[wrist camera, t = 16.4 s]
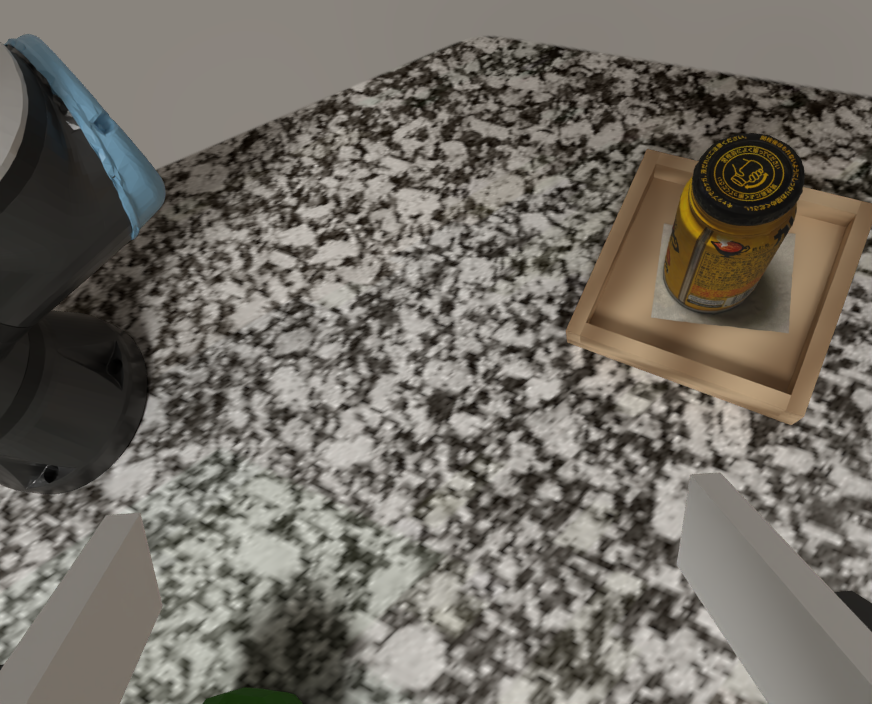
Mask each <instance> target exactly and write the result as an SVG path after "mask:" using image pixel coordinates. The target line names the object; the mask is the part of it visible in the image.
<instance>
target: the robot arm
mask: <svg viewBox="0 0 872 704" xmlns="http://www.w3.org/2000/svg"><path fill="white" fill-rule="evenodd" d="M165 195H166V191H165V185H164V182H163V180H162V178H161V177H160V175H159V174H158V173H157V171H156V170H155V168H154V167H153V166H152V165H151V163H150V162H149V161H148V160H147V158H146V157H145V156H144V155H143V154H142V153H141V151H140V150H139V149H138V148H137V147H136V145H135V144H134V143H133V142H132V140H131V139H130V138H129V137H128V136H127V135H126V134H125V132H124V131H123V130H122V129H121V128H120V127H119V126H118V125H117V124H116V122H115V121H114V120H112V119H111V118H110V116H109V114H108V113H107V112H106V111H105V110H104V109H103V108H102V106H101V105H100V104H99V103H98V102H97V100H96V99H95V98H94V97H93V95H92V94H91V93H90V92H89V91H88V90H87V89H86V88H85V87H84V85H83V84H82V83H81V82H80V81H79V80H78V78H76V76H75V75H74V74H73V73H72V72H71V71H70V70H69V69H68V67H67V66H66V65H65V64H64V63H63V62H62V61H61V60H60V59H59V58H58V57H57V55H56V54H55V53H54V52H53V51H52V50H51V49H50V48H49V47H48V46H47V45H46V44H45V43H44V42H43V41H42V40H41V39H40V38H38V37H37V36H34V35H31V34H25V35H22V36H20V37H18V38H17V39H9V40H8V41H7V43H5V44H2V43H1V42H0V484H1V485H3V486H5V487H8V488H11V489H14V490H18V491H23V492H31V493H40V494H60V493H65V492H69V491H72V490H75V489H78V488H80V487H82V486H84V485H86V484H88V483H90V482H91V481H93V480H94V479H96V478H97V477H99V476H100V475H101V474H103V473H104V472H105V471H106V470H107V469H108V468H109V467H110V466H111V465H112V464H113V463H114V462H115V461H116V460H117V459H118V458H119V457H120V455H121V454H122V453H123V452H124V450H125V449H126V447H127V446H128V444H129V443H130V441H131V439H132V437H133V436H134V434H135V432H136V429H137V427H138V425H139V422H140V420H141V417H142V414H143V410H144V406H145V401H146V395H147V373H146V367H145V363H144V360H143V357H142V354H141V352H140V350H139V348H138V346H137V345H136V343H135V342H134V341H133V339H132V338H131V337H130V336H129V335H128V334H127V333H125V332H124V331H123V330H121V329H120V328H118V327H116V326H114V325H112V324H110V323H108V322H106V321H104V320H102V319H99V318H97V317H94V316H91V315H87V314H83V313H73V312H61V311H51V310H52V309H54V308H55V307H56V306H57V305H58V304H59V303H60V302H61V301H63V300H64V299H65V298H66V297H67V296H68V295H69V294H70V293H72V292H73V291H74V290H75V289H76V288H77V287H78V286H80V285H81V284H82V283H83V282H84V281H85V280H86V279H87V278H89V277H90V276H91V275H92V274H93V273H94V272H95V271H97V270H98V269H99V268H100V267H101V266H102V265H103V264H104V263H106V262H107V261H108V260H109V259H110V258H111V257H112V256H113V255H115V254H116V253H117V252H118V251H119V250H120V249H121V248H123V247H124V246H125V245H126V244H127V243H128V242H129V241H130V240H133V239H135V238H136V237H137V236H138V234H139V230H140V229H141V227H142V226H143V225H144V224H145V223H146V222H147V221H148V220H149V219H150V218H151V217H152V216H153V215H154V214H155V213H156V212H157V211H158V210H159V209H160V207H161V206H162V205H163V203H164V200H165ZM677 566H678V567H679V569H680V570H681V572H682V573H683V575H684V576H685V578H686V579H687V581H688V583H689V584H690V586H691V587H692V589H693V590H694V592H695V593H696V595H697V596H698V598H699V599H700V601H701V602H702V604H703V605H704V607H705V608H706V610H707V611H708V613H709V614H710V616H711V617H712V619H713V620H714V622H715V623H716V625H717V626H718V628H719V630H720V631H721V633H722V634H723V636H724V637H725V639H726V640H727V642H728V643H729V645H730V646H731V648H732V649H733V651H734V652H735V654H736V655H737V657H738V658H739V660H740V661H741V663H742V664H743V666H744V667H745V669H746V670H747V672H748V674H749V675H750V677H751V678H752V680H753V681H754V683H755V684H756V686H757V687H758V689H759V690H760V692H761V693H762V695H763V696H764V698H765V699H766V701H767V702H768V704H872V603H870V602H869V601H867V600H866V599H864V598H862V597H861V596H859V595H858V594H856V593H855V592H853V591H844V592H833V591H832V590H831V589H830V588H829V587H828V585H827V584H826V583H825V582H824V581H823V580H822V579H821V578H820V577H819V576H818V575H817V574H816V573H815V572H814V571H813V570H812V569H811V568H810V567H809V565H808V564H807V563H806V562H805V561H804V560H803V559H802V558H801V557H800V556H799V555H798V554H797V553H796V552H795V551H794V550H793V549H792V548H791V547H790V545H789V544H788V543H787V542H786V541H785V540H784V539H783V538H782V537H781V536H780V535H779V534H778V533H777V532H776V531H775V530H774V529H773V528H772V527H771V525H770V524H769V523H768V522H767V521H766V520H765V519H764V518H763V517H762V516H761V515H760V514H759V513H758V512H757V511H756V510H755V509H754V508H753V507H752V505H751V504H750V503H749V502H748V501H747V500H746V499H745V498H744V497H743V496H742V495H741V494H740V493H739V492H738V491H737V490H736V489H735V488H734V487H733V485H732V484H731V483H730V482H729V481H728V480H727V479H726V478H725V477H724V476H723V475H722V474H721V473H707V474H692V475H690V480H689V486H688V493H687V500H686V507H685V513H684V520H683V527H682V534H681V540H680V547H679V554H678V561H677ZM162 606H163V605H162V601H161V597H160V593H159V589H158V584H157V580H156V576H155V572H154V568H153V563H152V559H151V555H150V551H149V547H148V542H147V538H146V534H145V530H144V526H143V521H142V517H141V513H131V514H117V515H106V516H105V518H104V519H103V521H102V522H101V523H100V525H99V526H98V528H97V529H96V531H95V532H94V534H93V535H92V537H91V538H90V540H89V541H88V543H87V544H86V545H85V547H84V548H83V550H82V551H81V553H80V554H79V556H78V557H77V559H76V560H75V562H74V563H73V564H72V566H71V567H70V569H69V570H68V572H67V573H66V575H65V576H64V578H63V579H62V581H61V582H60V584H59V585H58V586H57V588H56V589H55V591H54V592H53V594H52V595H51V597H50V598H49V600H48V601H47V603H46V604H45V606H44V607H43V608H42V610H41V611H40V613H39V614H38V616H37V617H36V619H35V620H34V622H33V623H32V625H31V626H30V627H29V629H28V630H27V632H26V633H25V635H24V636H23V638H22V639H21V641H20V642H19V644H18V645H17V647H16V648H15V649H14V651H13V652H12V654H11V655H10V657H9V658H8V660H7V661H6V663H5V664H4V665H0V704H120V702H121V699H122V697H123V695H124V693H125V690H126V688H127V686H128V683H129V681H130V679H131V677H132V674H133V672H134V670H135V668H136V665H137V663H138V661H139V659H140V656H141V654H142V652H143V649H144V647H145V645H146V643H147V640H148V638H149V636H150V634H151V631H152V629H153V627H154V625H155V622H156V620H157V618H158V616H159V613H160V611H161V609H162Z"/></svg>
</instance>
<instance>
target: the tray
mask: <svg viewBox="0 0 872 704" xmlns="http://www.w3.org/2000/svg"><path fill="white" fill-rule="evenodd" d="M698 162H699V161H695V160H691V159H687V158H683V157H679V156H675V155H670V154H666V153H662V152H658V151H654V150H650V149H647V150H646V153H645V155H644V157H643V159H642V162H641V164H640V166H639V168H638V170H637V173H636V175H635V177H634V179H633V182H632V184H631V186H630V188H629V191H628V193H627V195H626V197H625V200H624V202H623V204H622V206H621V208H620V211H619V213H618V215H617V217H616V220H615V222H614V224H613V226H612V229H611V231H610V233H609V235H608V238H607V240H606V242H605V244H604V246H603V249H602V251H601V253H600V255H599V258H598V260H597V262H596V264H595V267H594V269H593V271H592V273H591V276H590V278H589V280H588V282H587V284H586V287H585V289H584V291H583V293H582V296H581V298H580V300H579V302H578V305H577V307H576V309H575V311H574V313H573V316H572V318H571V320H570V322H569V325H568V327H567V329H566V336H567V342H568V343H570V344H573V345H576V346H578V347H581V348H584V349H587V350H589V351H592V352H595V353H597V354H600V355H603V356H605V357H608V358H611V359H614V360H616V361H619V362H622V363H624V364H627V365H630V366H633V367H635V368H638V369H641V370H643V371H646V372H649V373H652V374H654V375H657V376H660V377H662V378H665V379H668V380H670V381H673V382H676V383H679V384H681V385H684V386H687V387H689V388H692V389H695V390H698V391H700V392H703V393H706V394H708V395H711V396H714V397H717V398H719V399H722V400H725V401H727V402H730V403H733V404H735V405H738V406H741V407H744V408H746V409H749V410H752V411H754V412H757V413H760V414H763V415H765V416H768V417H771V418H773V419H776V420H779V421H781V422H784V423H787V424H790V425H792V424H794V423H795V422H797V421H798V420H800V419H801V418H803V417H804V415H805V412H806V409H807V406H808V404H809V401H810V398H811V395H812V392H813V390H814V387H815V384H816V381H817V378H818V375H819V373H820V370H821V367H822V364H823V361H824V358H825V356H826V353H827V350H828V347H829V344H830V342H831V339H832V336H833V333H834V330H835V327H836V325H837V322H838V319H839V316H840V313H841V311H842V308H843V305H844V302H845V299H846V296H847V294H848V291H849V288H850V285H851V282H852V279H853V277H854V274H855V271H856V268H857V265H858V263H859V260H860V257H861V254H862V251H863V248H864V246H865V243H866V240H867V237H868V234H869V231H870V229H871V226H872V204H871V203H867V202H863V201H859V200H855V199H851V198H847V197H843V196H839V195H834V194H830V193H826V192H822V191H818V190H814V189H810V188H806V187H803V192H802V194H801V195H800V198H799V200H798V201H797V212H796V216H795V220H794V222H793V226H792V227H791V228H790V230H789V232H788V233H793V234H796V235H795V248H794V262H793V272H792V287H791V304H790V318H789V333H782V332H775V331H763V330H752V329H745V328H737V327H730V326H718V325H707V324H697V323H690V322H681V321H673V320H666V319H658V318H651V314H652V307H653V299H654V292H655V284H656V277H657V270H658V262H659V255H660V248H661V241H662V234H663V226H664V224H669V225H673V224H674V221H675V216H676V212H677V208H678V205H679V201H680V196H681V194H682V192H683V189H684V187H685V185H686V184H687V182H688V181H689V180H690V178H691V177H692V176H693V171H694V168H695V165H696V164H697V163H698Z"/></svg>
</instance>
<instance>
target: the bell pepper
mask: <svg viewBox="0 0 872 704" xmlns="http://www.w3.org/2000/svg"><path fill="white" fill-rule="evenodd" d="M203 704H303V703H302V702H301V701H300V700H299V699H298V697H297V696H296V695H294V694H291V693H287V692H281V691H274V690H267V689H261V688H246V687H244V688H241V689H237V690H234V691H230V692H227V693H223V694H220V695H217V696H214V697H211V698H208V699H206V700H205V701H204V703H203Z"/></svg>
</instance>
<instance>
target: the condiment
mask: <svg viewBox="0 0 872 704" xmlns="http://www.w3.org/2000/svg"><path fill="white" fill-rule="evenodd" d="M804 176H805V174H804V167H803V164H802V161H801V158H800V157H799V156H798V155H797V154H796V152H795V151H794V150H793V149H792V148H791V147H790V146H789V145H788V144H786V143H784V142H782V141H780V140H778V139H776V138H773V137H771V136H769V135H763V134H754V133H750V134H736V135H734V136H731V137H729V138H726V139H722V140H719V141H717V142H716V143H715V144H713V145H712V146H711V147H710V148H709V149H708V150H707V151H706V152H705V153H704V154H703V155H702V157H701V158H700V160H699V162H698V163H697V164H696V165H695V168H694V171H693V176H692V177H691V178H690V180H689V181H688V182H687V184H686V185H685V187H684V189H683V192H682V194H681V196H680V201H679V205H678V208H677V212H676V216H675V221H674V224H673V225H669V224H664V226H663V234H662V241H661V248H660V255H659V262H658V270H657V277H656V284H655V292H654V299H653V307H652V314H651V318H658V319H666V320H673V321H681V322H690V323H697V324H707V325H718V326H730V327H737V328H745V329H752V330H763V331H775V332H782V333H789V318H790V304H791V287H792V272H793V262H794V248H795V235H796V234H793V233H788V232H789V230H790V228H791V227H792V226H793V222H794V220H795V216H796V212H797V201H798V200H799V198H800V195H801V194H802V192H803V185H804V178H805V177H804Z"/></svg>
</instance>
